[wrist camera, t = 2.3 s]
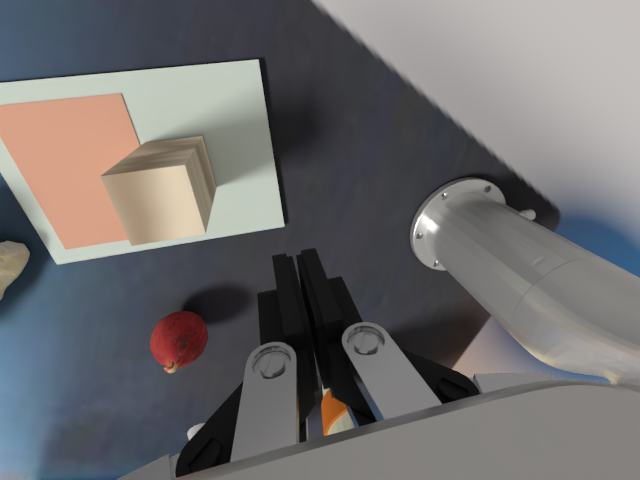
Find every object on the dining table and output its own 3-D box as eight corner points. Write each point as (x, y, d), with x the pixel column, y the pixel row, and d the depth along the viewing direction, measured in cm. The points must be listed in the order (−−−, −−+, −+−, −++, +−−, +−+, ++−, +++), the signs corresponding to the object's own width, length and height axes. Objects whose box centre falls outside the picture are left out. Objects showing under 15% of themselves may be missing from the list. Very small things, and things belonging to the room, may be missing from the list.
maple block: (203, 135, 28) (185, 164, 20) (216, 187, 31) (205, 233, 22) (145, 142, 28) (100, 176, 19) (163, 195, 30) (131, 245, 21)
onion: (176, 288, 36) (160, 341, 29) (220, 309, 39) (214, 361, 32) (149, 321, 37) (128, 378, 30) (193, 339, 40) (182, 395, 33)
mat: (258, 59, 27) (258, 59, 26) (284, 224, 35) (284, 226, 34) (-47, 87, 24) (-53, 87, 23) (59, 261, 32) (56, 265, 31)
